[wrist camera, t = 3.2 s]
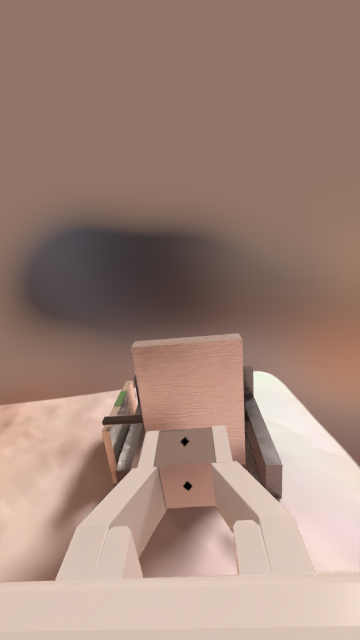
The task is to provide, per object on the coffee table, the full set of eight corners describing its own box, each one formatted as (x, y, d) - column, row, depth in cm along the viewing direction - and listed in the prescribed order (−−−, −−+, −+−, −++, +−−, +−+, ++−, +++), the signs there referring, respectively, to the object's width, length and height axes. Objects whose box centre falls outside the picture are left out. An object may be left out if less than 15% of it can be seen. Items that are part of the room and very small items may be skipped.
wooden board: (111, 469, 26) (84, 350, 23) (115, 458, 28) (91, 344, 24) (245, 464, 25) (242, 339, 22) (242, 453, 27) (238, 333, 23)
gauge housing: (105, 502, 25) (90, 438, 23) (132, 422, 37) (123, 374, 34) (281, 497, 24) (283, 428, 22) (252, 416, 35) (251, 366, 33)
